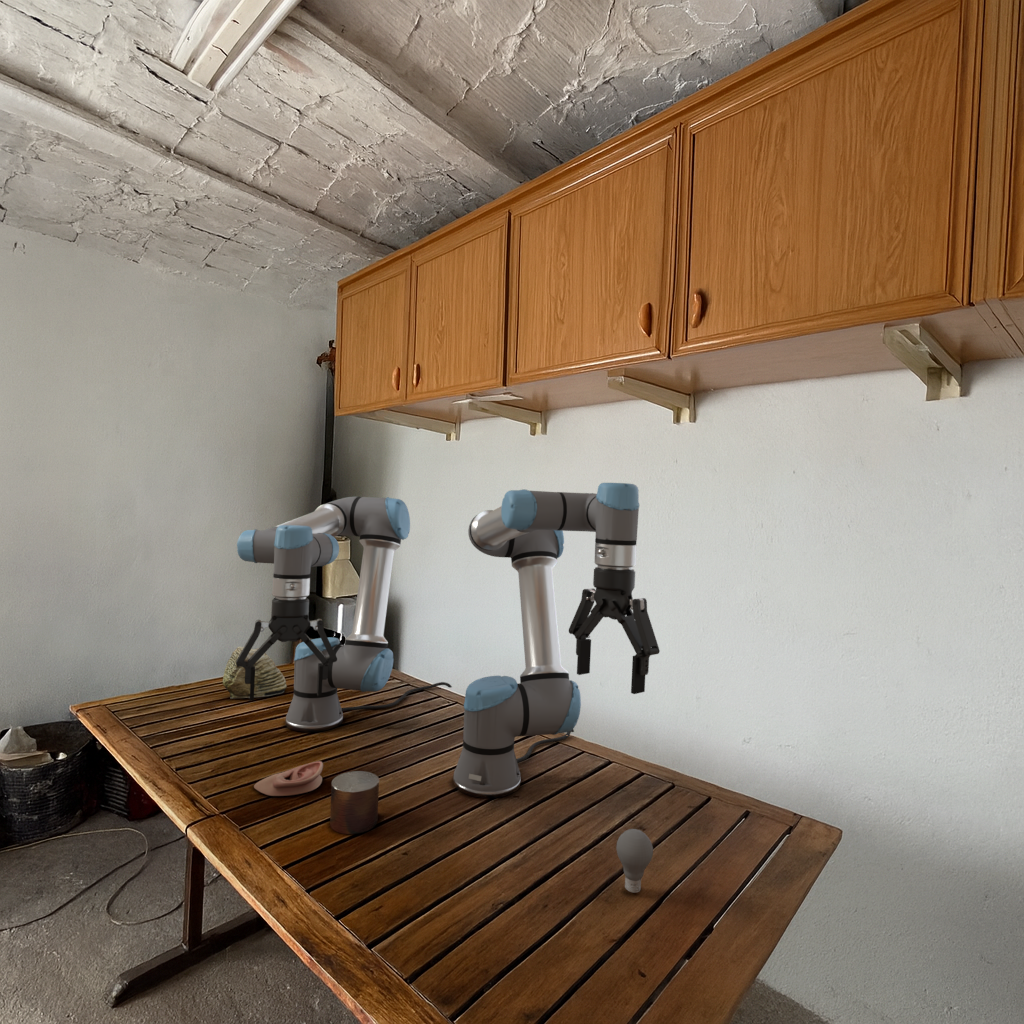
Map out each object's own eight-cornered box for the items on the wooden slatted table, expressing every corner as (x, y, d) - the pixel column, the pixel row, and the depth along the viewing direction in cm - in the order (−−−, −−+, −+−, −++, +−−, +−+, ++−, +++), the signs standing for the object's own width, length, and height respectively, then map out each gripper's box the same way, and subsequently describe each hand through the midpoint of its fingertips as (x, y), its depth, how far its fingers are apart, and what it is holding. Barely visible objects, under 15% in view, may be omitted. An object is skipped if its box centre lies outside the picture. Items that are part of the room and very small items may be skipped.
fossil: (218, 695, 195) (220, 647, 195) (278, 685, 208) (279, 640, 207) (228, 703, 189) (230, 653, 188) (289, 692, 201) (290, 645, 201)
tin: (371, 807, 130) (372, 768, 130) (382, 829, 122) (384, 787, 122) (326, 815, 126) (327, 775, 126) (334, 838, 118) (336, 794, 118)
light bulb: (610, 879, 108) (613, 822, 108) (644, 879, 109) (647, 822, 109) (619, 902, 102) (622, 840, 102) (655, 901, 103) (658, 840, 103)
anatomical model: (246, 773, 134) (276, 753, 145) (245, 792, 134) (276, 770, 145) (303, 782, 131) (330, 760, 142) (302, 801, 131) (329, 777, 142)
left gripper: (226, 600, 127) (221, 706, 127) (353, 599, 137) (348, 697, 137) (227, 595, 134) (222, 695, 134) (347, 594, 144) (343, 688, 143)
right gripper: (553, 560, 123) (549, 669, 124) (655, 576, 104) (649, 705, 104) (581, 559, 128) (576, 664, 128) (683, 574, 108) (677, 697, 109)
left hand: (286, 696), depth 135 cm, fingers open, 13 cm apart
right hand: (609, 682), depth 116 cm, fingers open, 13 cm apart
